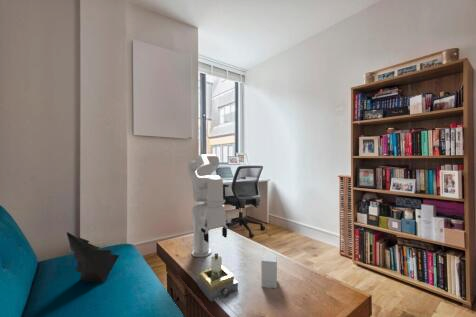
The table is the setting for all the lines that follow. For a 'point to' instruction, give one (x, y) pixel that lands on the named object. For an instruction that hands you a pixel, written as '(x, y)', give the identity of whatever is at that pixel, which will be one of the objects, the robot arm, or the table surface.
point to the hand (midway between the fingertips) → (215, 238)
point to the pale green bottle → (216, 267)
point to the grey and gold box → (216, 284)
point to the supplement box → (269, 271)
